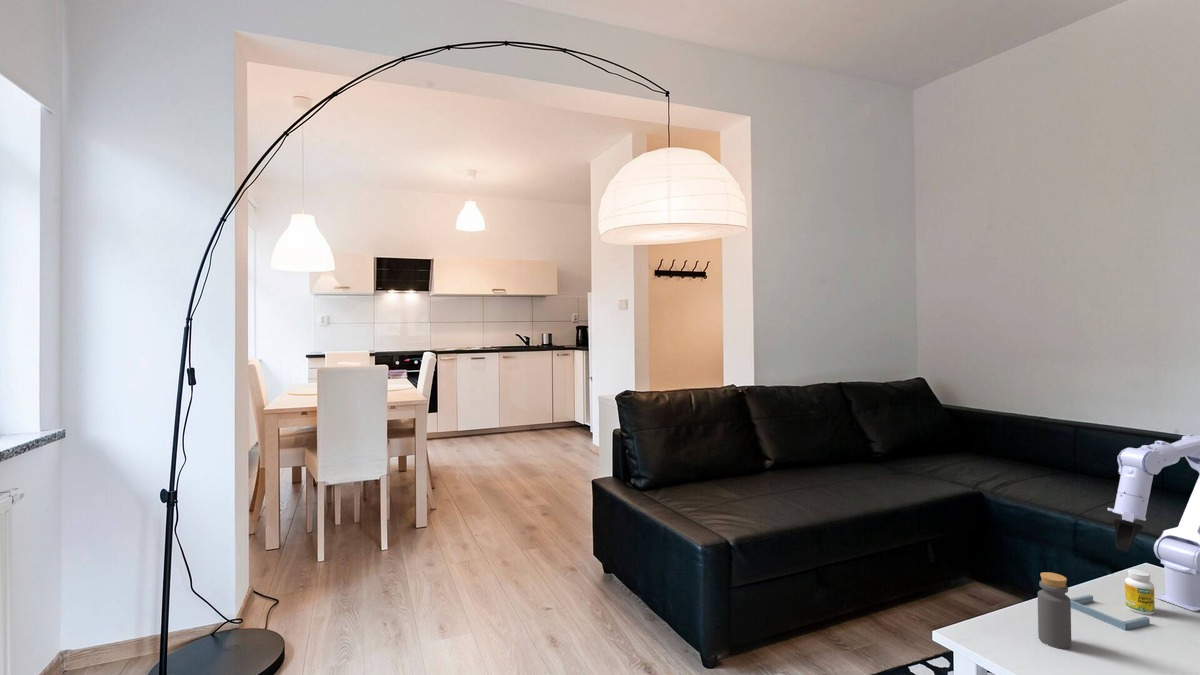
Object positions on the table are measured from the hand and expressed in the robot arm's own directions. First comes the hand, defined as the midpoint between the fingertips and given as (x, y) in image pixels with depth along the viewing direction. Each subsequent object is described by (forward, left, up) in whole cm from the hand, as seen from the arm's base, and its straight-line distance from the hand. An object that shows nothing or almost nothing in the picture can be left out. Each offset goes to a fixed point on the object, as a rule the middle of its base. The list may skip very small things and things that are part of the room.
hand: (1122, 549), depth 138 cm
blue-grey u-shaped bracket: (+4, -1, -16) cm, 17 cm away
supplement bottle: (-6, 0, -16) cm, 17 cm away
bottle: (+29, +4, -16) cm, 33 cm away
